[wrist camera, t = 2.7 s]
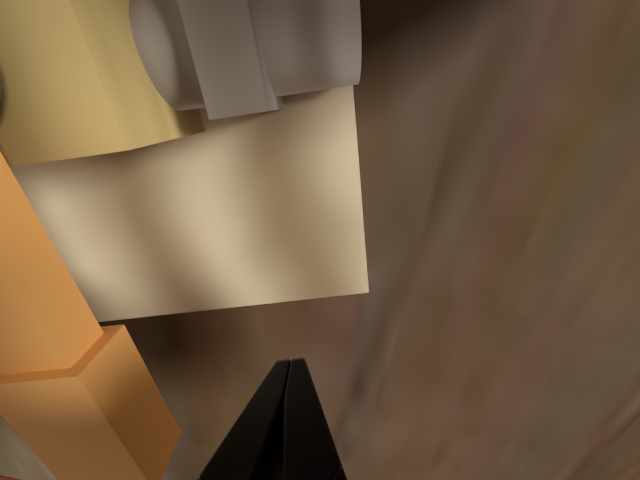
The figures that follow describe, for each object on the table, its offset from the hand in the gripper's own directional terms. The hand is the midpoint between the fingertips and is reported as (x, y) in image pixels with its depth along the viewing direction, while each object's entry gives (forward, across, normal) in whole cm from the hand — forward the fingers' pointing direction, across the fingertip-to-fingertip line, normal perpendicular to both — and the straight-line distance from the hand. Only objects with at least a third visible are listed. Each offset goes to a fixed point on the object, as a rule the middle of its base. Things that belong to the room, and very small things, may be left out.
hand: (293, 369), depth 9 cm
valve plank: (+7, +6, -6) cm, 11 cm away
